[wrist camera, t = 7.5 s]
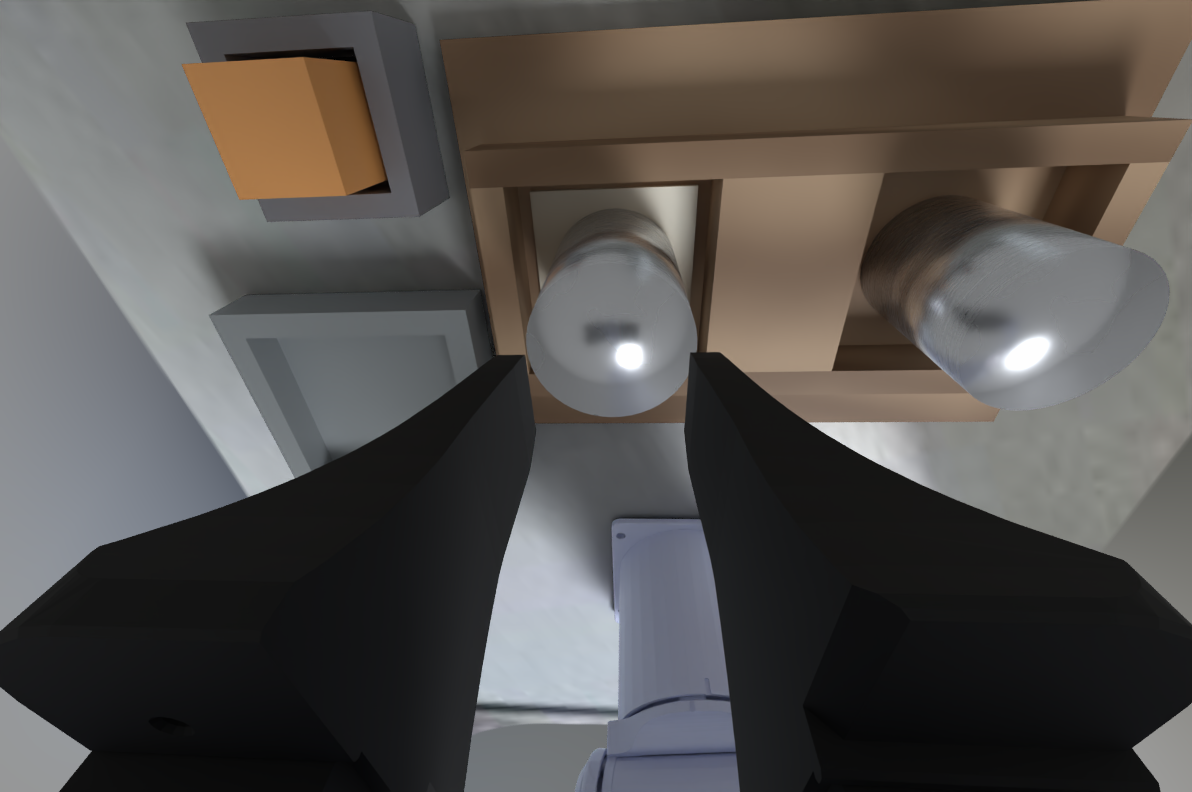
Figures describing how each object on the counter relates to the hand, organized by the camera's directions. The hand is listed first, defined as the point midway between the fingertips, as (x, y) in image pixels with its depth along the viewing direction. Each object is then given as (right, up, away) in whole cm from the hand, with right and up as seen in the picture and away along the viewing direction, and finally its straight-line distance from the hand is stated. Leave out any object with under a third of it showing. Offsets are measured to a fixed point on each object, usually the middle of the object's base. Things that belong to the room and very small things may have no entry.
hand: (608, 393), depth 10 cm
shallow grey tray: (-10, 0, +12) cm, 15 cm away
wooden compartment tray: (+6, +5, +7) cm, 11 cm away
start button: (-8, +8, +4) cm, 12 cm away
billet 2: (+11, +5, +6) cm, 14 cm away
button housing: (-8, +9, +6) cm, 14 cm away
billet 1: (0, +4, +7) cm, 8 cm away
